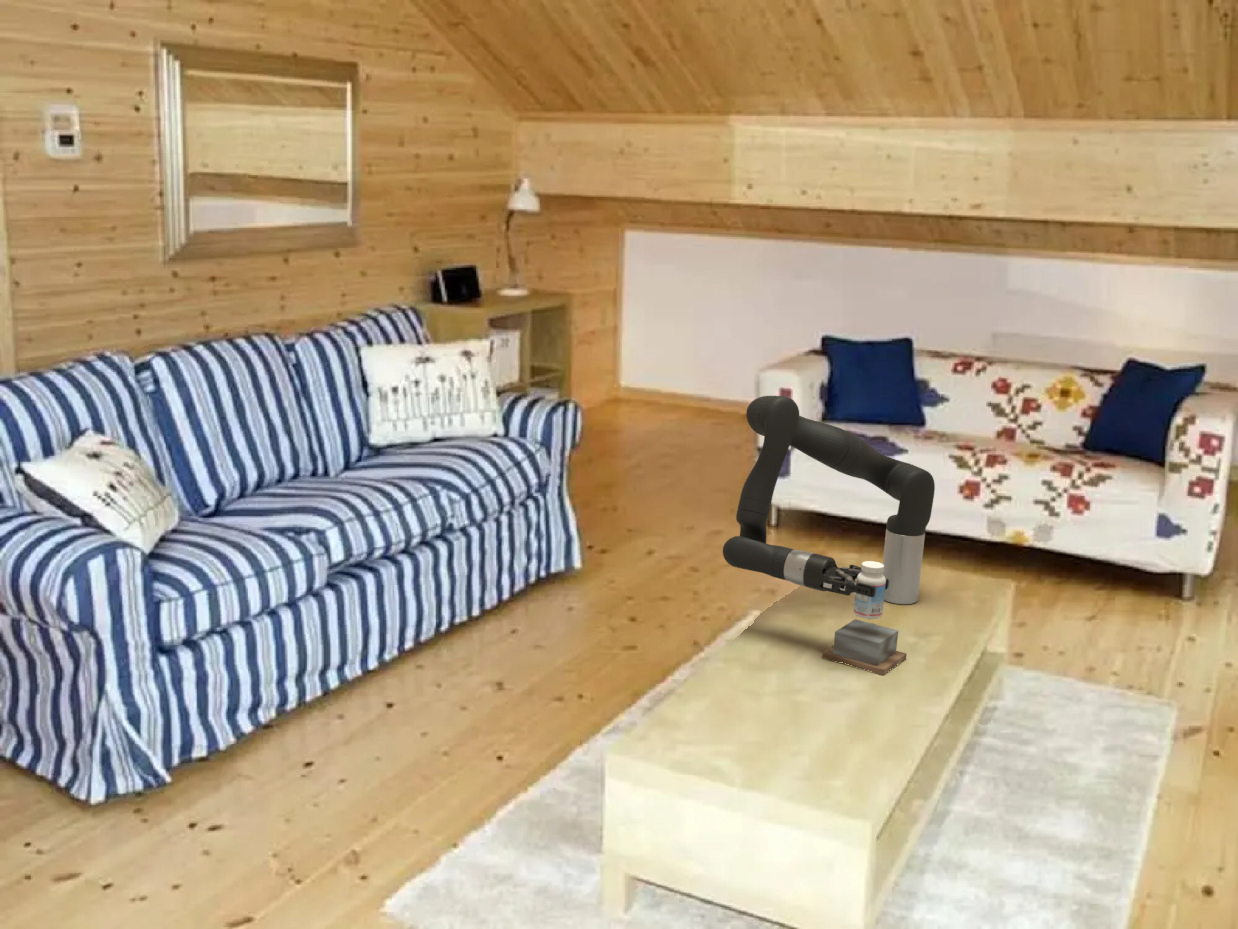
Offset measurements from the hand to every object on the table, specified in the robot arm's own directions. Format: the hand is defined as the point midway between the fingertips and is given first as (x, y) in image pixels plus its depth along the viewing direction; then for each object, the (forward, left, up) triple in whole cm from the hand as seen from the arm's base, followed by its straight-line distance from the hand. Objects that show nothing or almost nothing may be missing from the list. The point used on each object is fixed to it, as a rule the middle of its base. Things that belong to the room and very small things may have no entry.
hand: (881, 588), depth 265 cm
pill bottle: (0, -2, -7) cm, 7 cm away
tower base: (0, -2, -16) cm, 16 cm away
